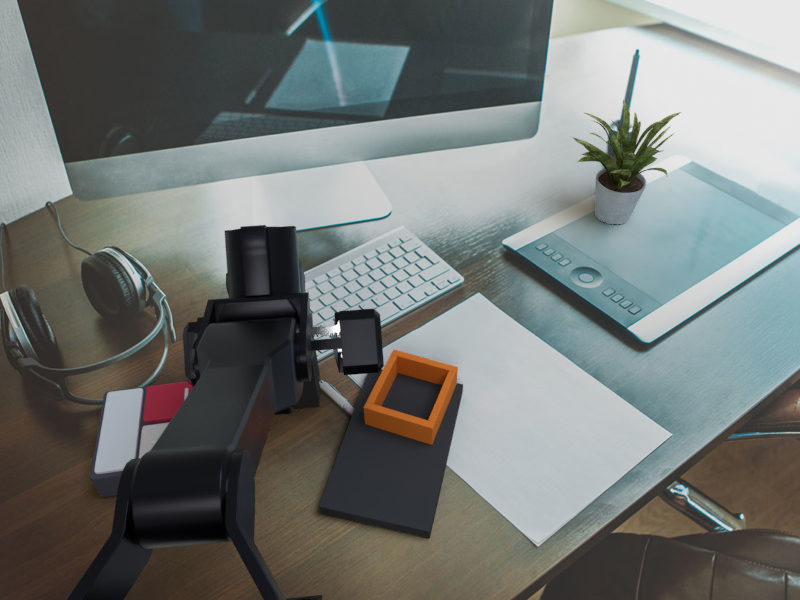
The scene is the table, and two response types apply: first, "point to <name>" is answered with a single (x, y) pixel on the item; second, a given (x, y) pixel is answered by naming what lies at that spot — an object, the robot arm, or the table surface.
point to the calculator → (131, 428)
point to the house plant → (623, 167)
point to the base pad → (396, 446)
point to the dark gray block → (310, 388)
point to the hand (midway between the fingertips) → (294, 342)
